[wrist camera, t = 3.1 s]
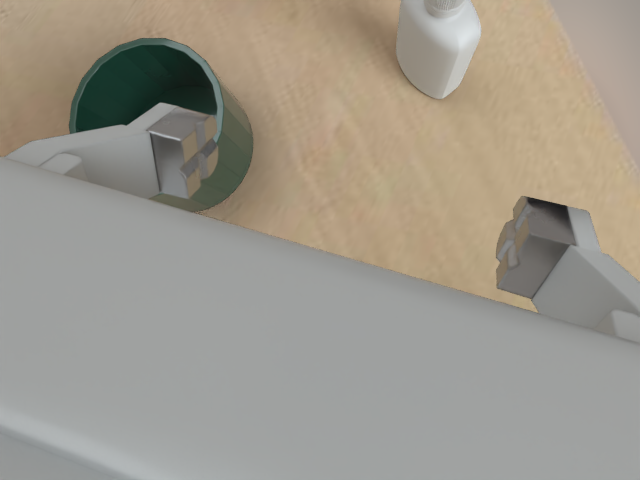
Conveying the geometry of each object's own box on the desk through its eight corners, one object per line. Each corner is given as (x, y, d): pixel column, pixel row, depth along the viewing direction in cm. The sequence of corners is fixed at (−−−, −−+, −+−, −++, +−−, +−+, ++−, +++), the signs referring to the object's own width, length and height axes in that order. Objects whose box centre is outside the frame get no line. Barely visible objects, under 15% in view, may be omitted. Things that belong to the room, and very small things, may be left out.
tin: (247, 216, 35) (215, 201, 28) (120, 208, 36) (60, 193, 29) (258, 84, 35) (230, 38, 29) (134, 82, 37) (79, 37, 30)
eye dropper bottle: (447, 29, 34) (487, -104, 22) (462, 96, 33) (510, -3, 21) (392, 42, 34) (401, -81, 22) (406, 109, 34) (423, 18, 22)
